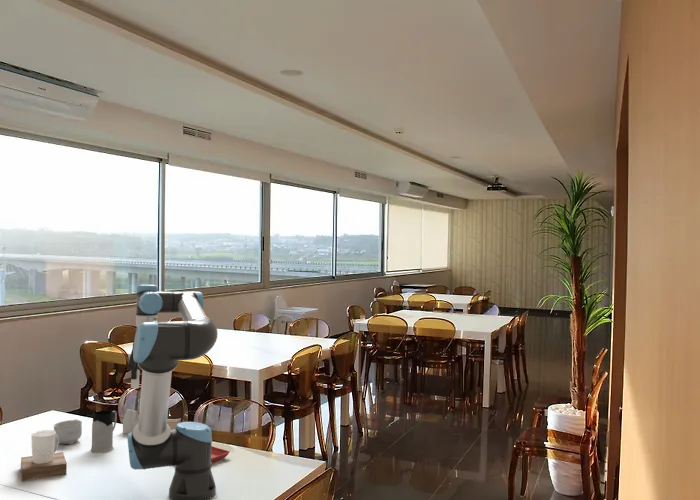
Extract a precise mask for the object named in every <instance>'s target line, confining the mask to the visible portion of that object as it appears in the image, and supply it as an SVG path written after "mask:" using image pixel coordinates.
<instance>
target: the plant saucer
mask: <svg viewBox="0 0 700 500" xmlns="http://www.w3.org/2000/svg"><path fill="white" fill-rule="evenodd" d="M229 454H230V451H229V450H227V449H223V448H219V447H217V446H212V445H211V464H213V463H216V462H220V461H222V460H224V459H225V458H226V457H227V456H228V455H229Z"/></svg>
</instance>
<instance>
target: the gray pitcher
mask: <svg viewBox="0 0 700 500" xmlns="http://www.w3.org/2000/svg"><path fill="white" fill-rule="evenodd" d="M117 415H118V414H117V411H116V410H109V409H104V410H103V409H101V410H97V411H94V412H93V413H92V424H91V447H90V450H89V451H90V452H91V453H94V454H104V453H108V452H109V451H110V452H111V451H113V450H114V446H113V445H114V444H113V442H114V440H113V439H114V436H113V435H114V431H115V428H116V425H117V420H118V419H117V418H118V416H117ZM113 417H114V419H113ZM113 420H114V423H113ZM110 452H109V453H110Z"/></svg>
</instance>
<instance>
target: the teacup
mask: <svg viewBox="0 0 700 500" xmlns="http://www.w3.org/2000/svg"><path fill="white" fill-rule="evenodd" d="M82 424H83V422H82V421H81V420H79V419H76V418H74V419H73V420H71V419H70V420H64V421H59V422H56V423H55V424H54V425H53V431H55V432H56V434H57V436H58V439H59V443H58V444H62V445H68V444H73V443H76V442H77V441H78V440H79V439H81V437H82V435H83V434H82V433H83V431H82V430H83V429H82V427H83V426H82Z"/></svg>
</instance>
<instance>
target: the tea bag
mask: <svg viewBox="0 0 700 500" xmlns="http://www.w3.org/2000/svg"><path fill="white" fill-rule="evenodd" d="M138 423H139V412H138V410H133V409H129V408H127V409H125V413H124V415H123V418H122V433H124V434H127V435H128V434H129V433H131V432H133V429H134V427H135V426H136V425H137V424H138Z"/></svg>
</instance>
